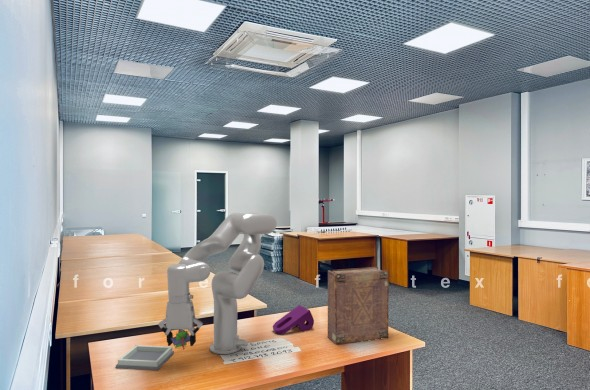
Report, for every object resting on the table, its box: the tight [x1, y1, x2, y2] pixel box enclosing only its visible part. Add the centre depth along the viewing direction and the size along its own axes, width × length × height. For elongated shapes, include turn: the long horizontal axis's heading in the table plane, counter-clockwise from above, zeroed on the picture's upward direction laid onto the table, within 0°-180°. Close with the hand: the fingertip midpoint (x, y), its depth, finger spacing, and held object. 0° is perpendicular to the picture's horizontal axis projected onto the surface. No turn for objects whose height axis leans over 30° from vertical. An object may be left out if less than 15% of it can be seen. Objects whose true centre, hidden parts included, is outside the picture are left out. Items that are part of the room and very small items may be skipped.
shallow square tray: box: [115, 344, 175, 371], centre depth 154 cm, size 16×15×3 cm
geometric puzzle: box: [171, 330, 191, 351], centre depth 150 cm, size 7×7×8 cm
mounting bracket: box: [272, 304, 315, 335], centre depth 189 cm, size 9×8×18 cm
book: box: [327, 266, 390, 345], centre depth 179 cm, size 25×9×30 cm, turn 108°
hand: (181, 344), depth 151 cm, fingers closed on geometric puzzle, 7 cm apart
